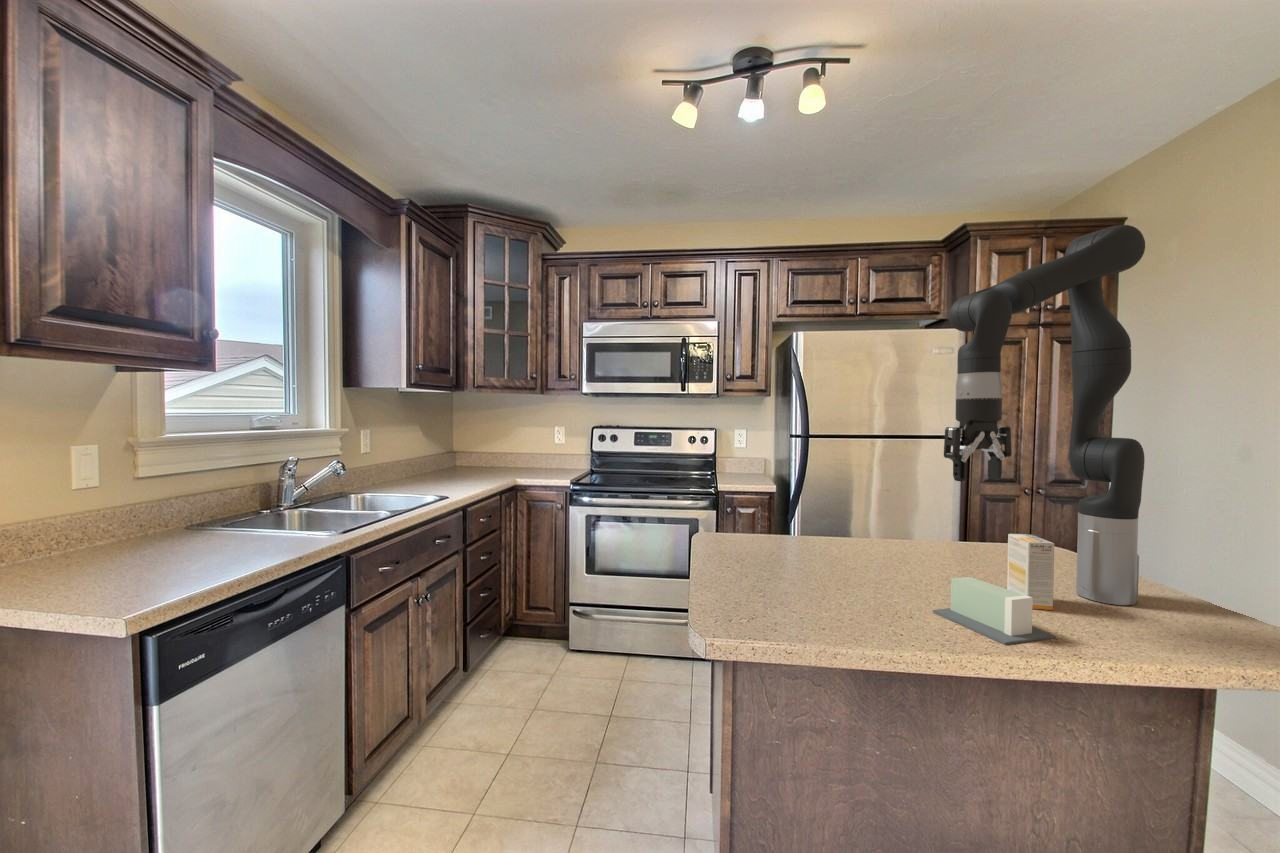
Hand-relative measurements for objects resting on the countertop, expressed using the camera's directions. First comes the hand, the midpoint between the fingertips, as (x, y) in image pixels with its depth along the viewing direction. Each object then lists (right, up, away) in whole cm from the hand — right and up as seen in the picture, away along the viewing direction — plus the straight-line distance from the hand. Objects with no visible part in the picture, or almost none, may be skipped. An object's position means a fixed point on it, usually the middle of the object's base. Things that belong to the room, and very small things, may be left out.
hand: (977, 480), depth 101 cm
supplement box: (+13, -25, +4) cm, 28 cm away
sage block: (-4, -22, -2) cm, 22 cm away
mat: (-3, -25, -8) cm, 26 cm away
